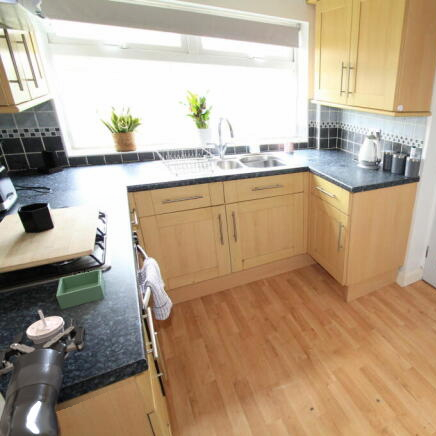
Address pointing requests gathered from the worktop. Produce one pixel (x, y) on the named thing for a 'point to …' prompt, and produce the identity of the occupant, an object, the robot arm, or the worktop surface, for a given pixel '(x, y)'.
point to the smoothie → (45, 329)
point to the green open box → (80, 288)
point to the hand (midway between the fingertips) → (47, 328)
